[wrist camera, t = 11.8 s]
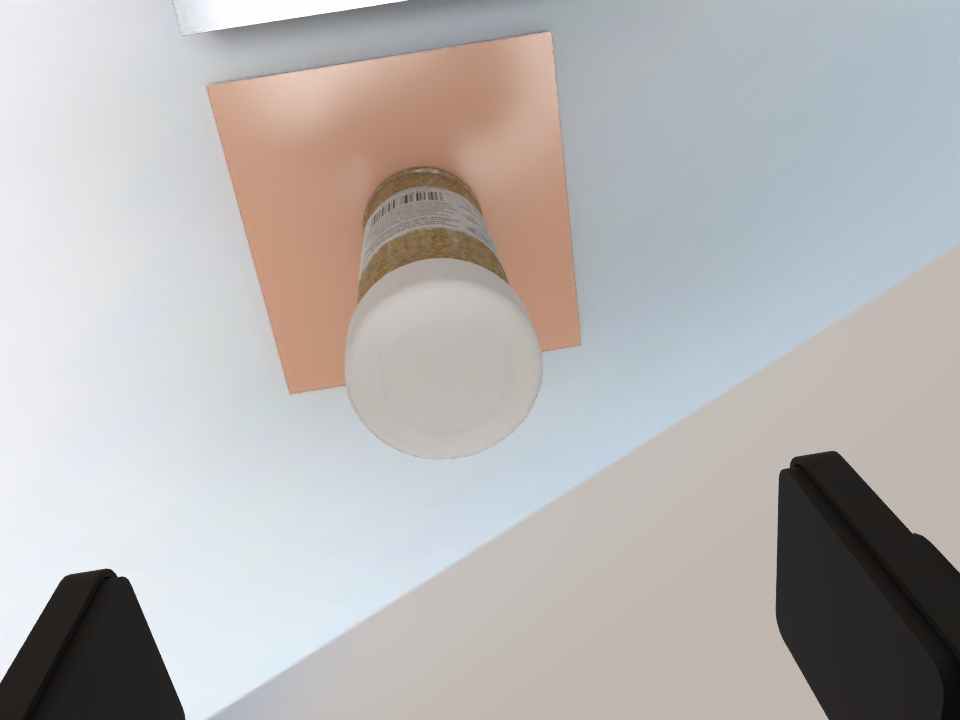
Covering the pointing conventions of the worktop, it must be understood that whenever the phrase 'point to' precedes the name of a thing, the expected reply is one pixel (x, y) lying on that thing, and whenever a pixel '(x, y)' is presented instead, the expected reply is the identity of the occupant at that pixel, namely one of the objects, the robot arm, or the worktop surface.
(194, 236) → the worktop surface
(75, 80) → the worktop surface
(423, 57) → the coaster
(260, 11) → the socket bar
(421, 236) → the sprinkles bottle
